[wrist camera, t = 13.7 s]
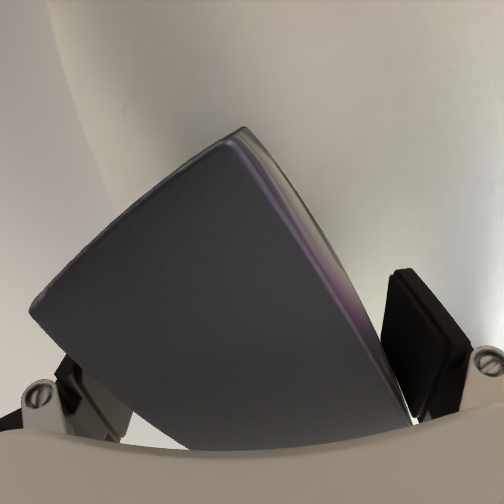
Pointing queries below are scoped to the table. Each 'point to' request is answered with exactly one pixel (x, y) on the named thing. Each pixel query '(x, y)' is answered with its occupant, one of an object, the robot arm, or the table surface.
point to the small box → (225, 313)
